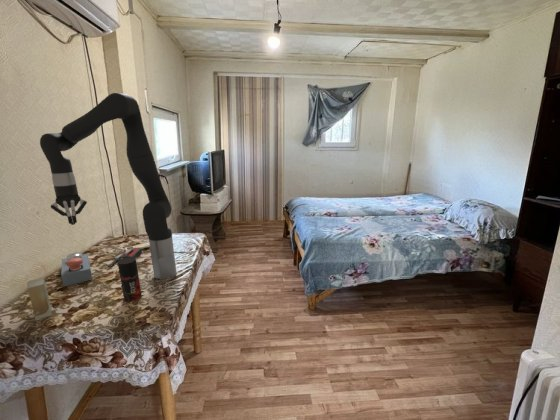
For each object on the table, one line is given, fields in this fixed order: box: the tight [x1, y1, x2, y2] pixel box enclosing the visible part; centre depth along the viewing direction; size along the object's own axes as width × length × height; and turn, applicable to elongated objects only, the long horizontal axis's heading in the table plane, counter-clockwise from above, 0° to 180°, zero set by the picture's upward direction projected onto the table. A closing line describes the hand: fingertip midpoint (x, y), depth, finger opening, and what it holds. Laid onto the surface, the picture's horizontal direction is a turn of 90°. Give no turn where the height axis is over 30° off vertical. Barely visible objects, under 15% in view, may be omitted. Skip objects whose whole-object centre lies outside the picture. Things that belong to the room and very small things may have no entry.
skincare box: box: [27, 277, 52, 321], centre depth 100 cm, size 6×4×12 cm
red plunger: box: [66, 258, 83, 271], centre depth 125 cm, size 6×6×6 cm
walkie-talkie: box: [107, 247, 143, 268], centre depth 144 cm, size 9×4×20 cm
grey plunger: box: [66, 252, 83, 260], centre depth 134 cm, size 6×6×6 cm
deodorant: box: [117, 257, 142, 303], centre depth 109 cm, size 6×6×15 cm
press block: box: [60, 253, 93, 287], centre depth 130 cm, size 20×10×5 cm, turn 35°
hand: (73, 224), depth 124 cm, fingers closed
